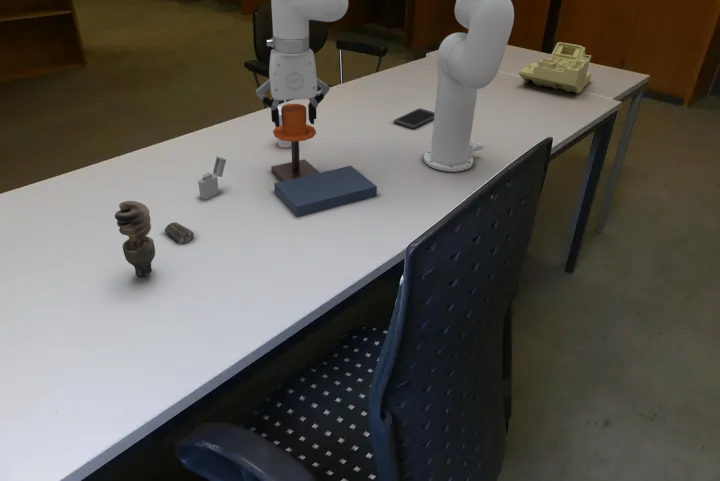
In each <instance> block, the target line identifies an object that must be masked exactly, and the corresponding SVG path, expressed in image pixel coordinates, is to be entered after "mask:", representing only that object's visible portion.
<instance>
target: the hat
mask: <svg viewBox="0 0 720 481" xmlns="http://www.w3.org/2000/svg"><path fill="white" fill-rule="evenodd" d="M281 106H282V108H281V114H282V125H280V126H279V127H276V128H275V127H274V129H273V130H272V134H273V136H274V138H276V139H277V138H278V139H280V140H284V141H291V142H295V141H299V142H305V141H307V140H311V139H313V138H314V137H315V136H316V135H317V130H316V128H315V127H314V126H312V125H311V124H307V107H306V106H305V105H303V104H301V103H287V105H281Z"/></svg>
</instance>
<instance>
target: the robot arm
mask: <svg viewBox="0 0 720 481" xmlns="http://www.w3.org/2000/svg"><path fill="white" fill-rule="evenodd" d="M270 4H271V19H272V20H271V22H272V37H271V38H269V39H266V41H265V42H266V47H270V48H273V49H271V50H270V56H269V64H268V65H269V66H268V68H269V69H268V79H267V80H266V81H265V82H264V83H263V84H261V85H260V86H259V87H258V88H257V89H256V90H255V94H256V95H257V97H258V98H259V99H260V100H261V101H262V103H264V104H265V105H266V106H267V107H269V109H270V113H271V114H270V115H271V116H270V117H271V122H272V123H274V122H275V124H274V126H275V125H276V127H279V110H278V108H277V107H279V104H280V102H281V101H284V100H286V101H294V100H296V101H297V100H309V103H308V104H307V107H308V108H307V109H308V111H307V112H308V113H307V114H308V122H309V123H310V125H315V120H317V108H318V105H319V104H320V103H321V102H322V101H323V100H324V99H325V96H326V95H327V94H328V93H329V91H330V89H331V88H330V86H329V85H327V84H326V82H323V81H322V80H321V79H320V78H318V76H317V66H316V59H315V53H314V51H313V49H311V48H310V21H318V22H325V23H330V22H331V23H332V22H336V21H339V20H340V19H342V18H343V17H344V16H345V15H346V13H347V11H348V8H349V0H270ZM454 16H455V19H456V21H457V22H458V24H460V25H461V26H462V27H464V28H466V29H467V30H468V31H467V33H466V32H454V33H451V34H450V35H449V34H448V35H447V36H446V37H445V38H444V39H443V40H442V42H441V43H440V45H439V47H438V51H437V54H436V56H437V57H436V69H437V84H436V95H435V96H436V98H435V106H434V113H435V114H434V119H433V125H432V133H431V143H430V144H431V145H430V149H429V150H426V151H425V152H424V155H423V161H424V163H425V164H426V165H427V166H429V167H431V168H433V169H435V170H439V171H442V172H451V173H453V172H454V173H455V172H463V171H467V170H468V169H470V168H471V167H473V165H474V156H473V155H472V154H473V153H475V152H477V151H482V150H483V149H484V145H483V143H482V142H476V143H473V141H472V140H471V137H472V131H473V122H474V118H475V110H476V109H475V108H476V103H477V95H478V94H477V93H478V90H480V89H483V88H486V87H487V86H489V85H490V84H491V83H492V82H493V80H494V79H495V77H496V76H497V74H498V72H499V70H500V67H501V64H502V61H503V58H504V55H505V52H506V49H507V47H508V46H507V45H508V42H509V39H510V36H511V33H512V30H513V26H514V21H515V9H514V4H513V2H512V0H456V1H455V5H454ZM318 88H320V89H319V92H318ZM268 90H269V91H270V94H271V98H270V97H268V96H267V95H266V92H267V91H268Z"/></svg>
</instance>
